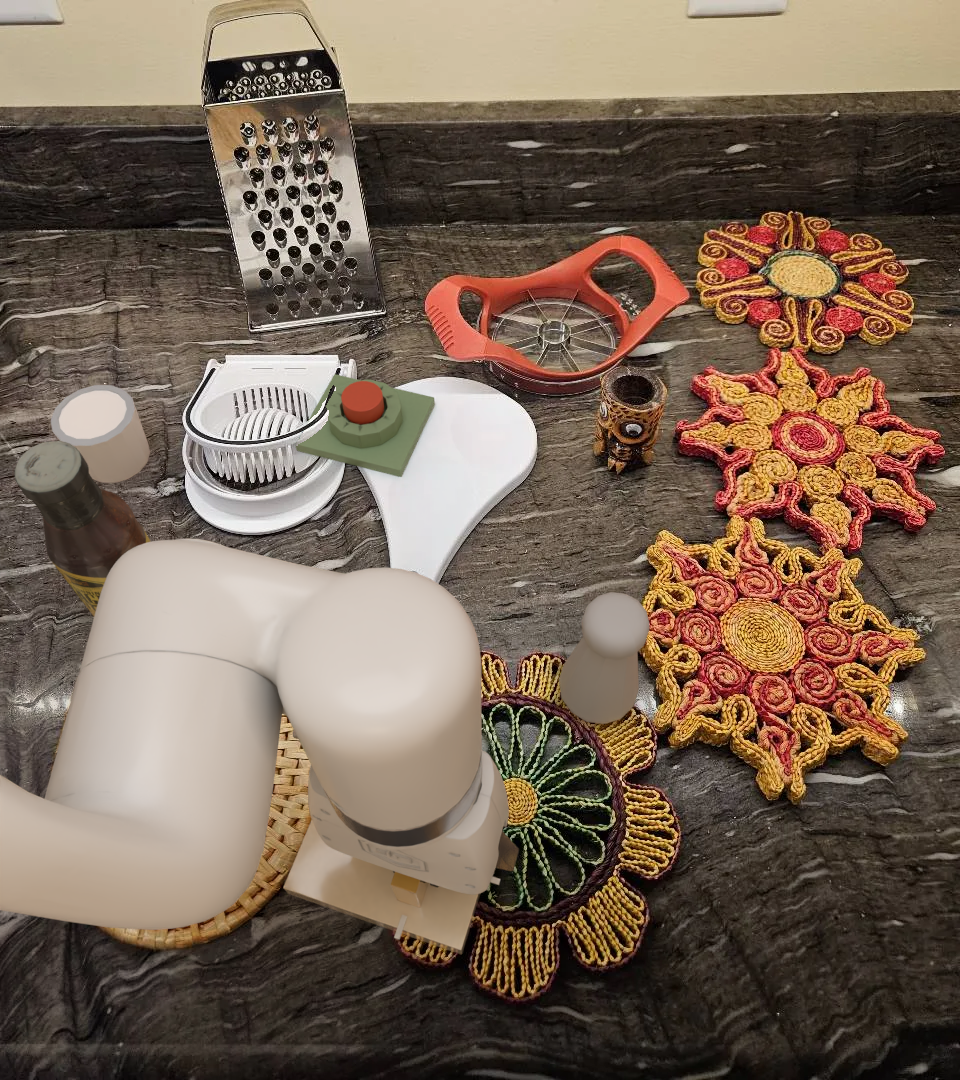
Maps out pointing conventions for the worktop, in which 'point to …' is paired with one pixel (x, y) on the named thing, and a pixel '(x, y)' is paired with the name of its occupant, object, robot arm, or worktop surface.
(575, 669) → the salt shaker
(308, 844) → the block
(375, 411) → the button
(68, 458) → the sauce bottle
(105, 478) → the beige grey-rimmed cylinder
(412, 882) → the tap handle
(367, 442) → the button block
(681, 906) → the worktop surface
